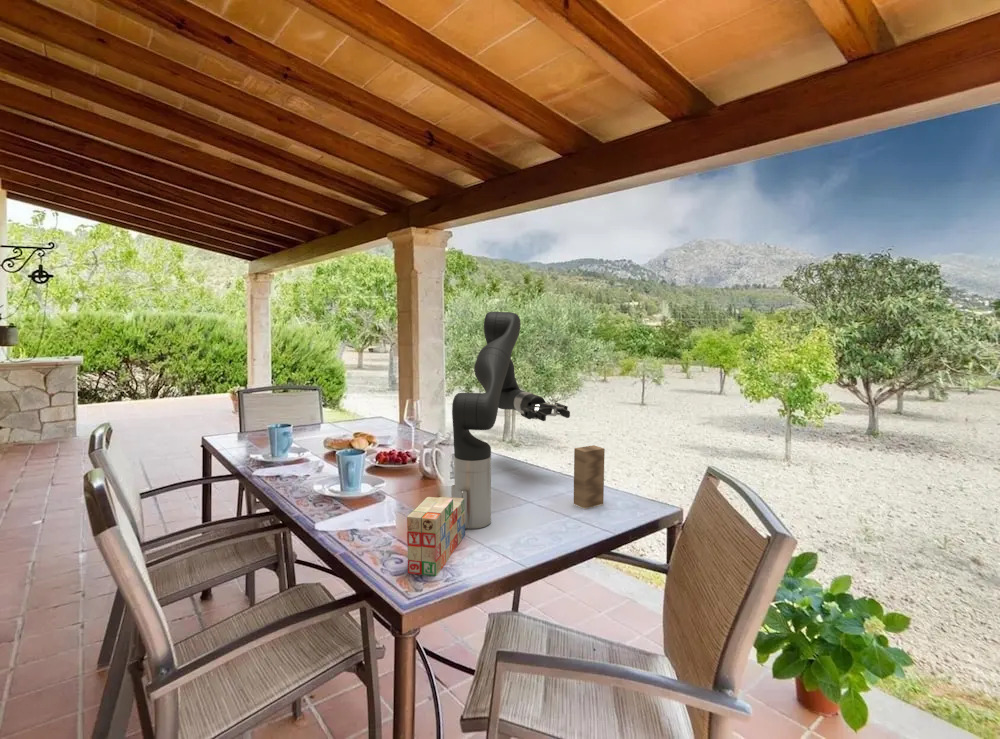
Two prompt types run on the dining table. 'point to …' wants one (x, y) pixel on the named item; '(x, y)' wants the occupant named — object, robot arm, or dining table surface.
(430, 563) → the stack of blocks
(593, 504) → the walnut block
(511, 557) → the dining table surface
